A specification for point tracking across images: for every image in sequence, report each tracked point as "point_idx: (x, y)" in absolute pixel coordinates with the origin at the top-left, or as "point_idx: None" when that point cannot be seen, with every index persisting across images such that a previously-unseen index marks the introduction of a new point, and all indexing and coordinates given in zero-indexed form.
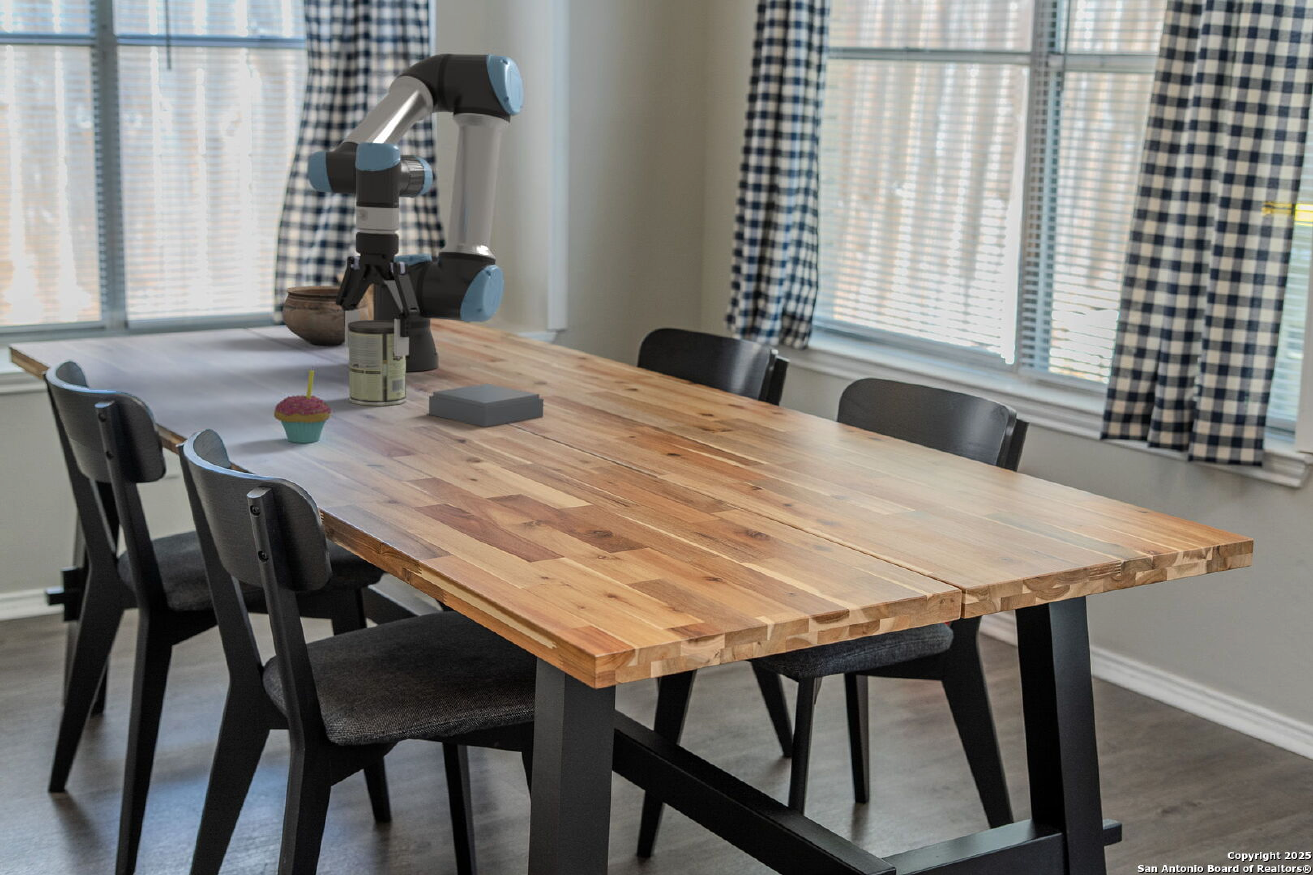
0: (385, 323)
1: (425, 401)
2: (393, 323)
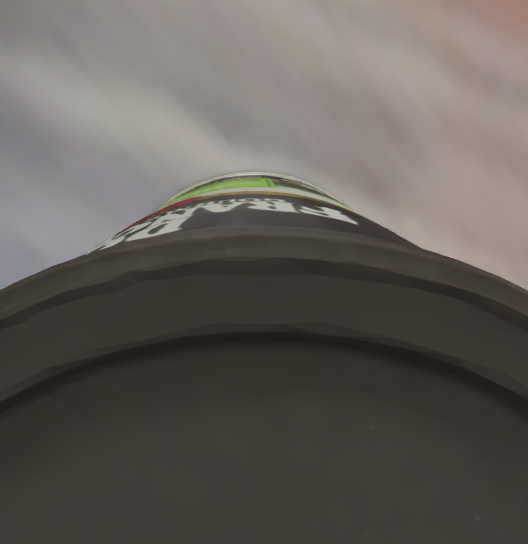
0: (257, 538)
1: (441, 163)
2: (359, 431)
